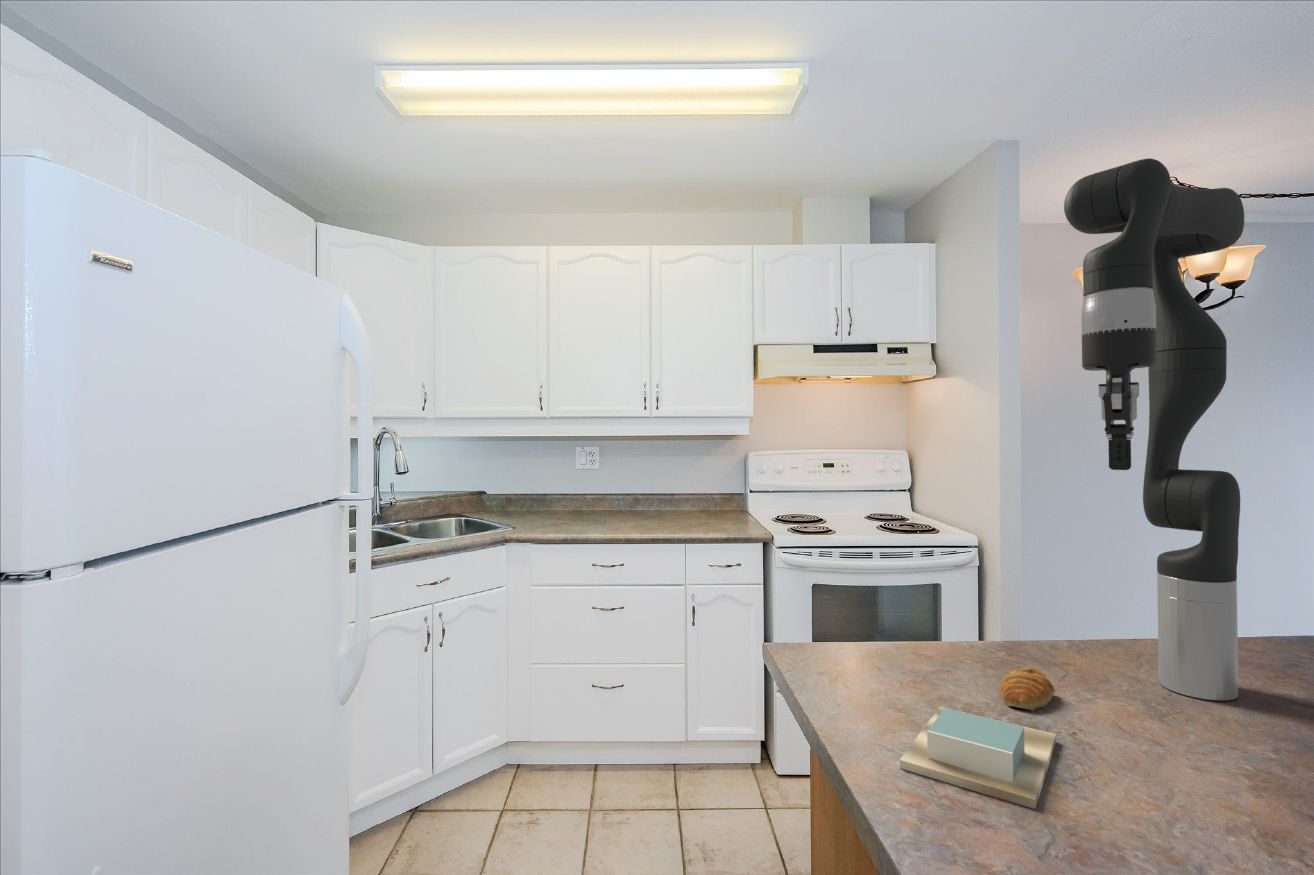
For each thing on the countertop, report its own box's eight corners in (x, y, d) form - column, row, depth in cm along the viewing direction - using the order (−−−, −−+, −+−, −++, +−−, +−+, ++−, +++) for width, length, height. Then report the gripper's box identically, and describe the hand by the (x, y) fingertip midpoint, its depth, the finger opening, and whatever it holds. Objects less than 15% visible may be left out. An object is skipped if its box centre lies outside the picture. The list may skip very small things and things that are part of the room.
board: (940, 713, 90) (939, 706, 90) (1056, 741, 81) (1056, 733, 81) (899, 768, 76) (899, 759, 76) (1035, 809, 67) (1035, 799, 67)
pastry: (1046, 718, 88) (1045, 691, 88) (992, 706, 93) (991, 680, 93) (1056, 696, 96) (1055, 670, 96) (1005, 685, 100) (1005, 661, 100)
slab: (944, 707, 82) (927, 731, 76) (1024, 726, 77) (1012, 753, 71) (945, 732, 82) (927, 757, 76) (1024, 752, 77) (1012, 782, 71)
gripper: (1156, 319, 71) (1158, 473, 72) (1156, 332, 82) (1158, 466, 82) (1076, 327, 76) (1078, 472, 76) (1086, 338, 87) (1088, 466, 87)
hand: (1120, 469), depth 79 cm, fingers closed
